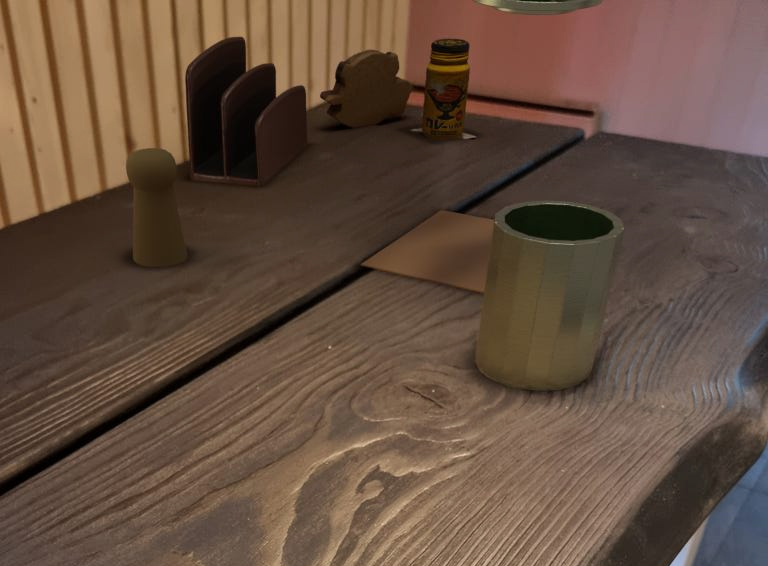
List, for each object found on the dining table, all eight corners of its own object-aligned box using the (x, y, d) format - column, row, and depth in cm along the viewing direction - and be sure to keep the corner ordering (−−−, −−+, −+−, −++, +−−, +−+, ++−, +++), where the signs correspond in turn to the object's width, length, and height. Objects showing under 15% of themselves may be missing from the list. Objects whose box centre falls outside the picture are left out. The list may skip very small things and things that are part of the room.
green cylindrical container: (605, 359, 83) (639, 213, 74) (566, 406, 77) (599, 253, 68) (500, 334, 87) (522, 193, 78) (456, 376, 81) (474, 228, 72)
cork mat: (603, 246, 103) (604, 240, 103) (538, 309, 91) (539, 303, 90) (440, 214, 111) (441, 209, 111) (360, 269, 99) (360, 264, 98)
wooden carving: (392, 113, 145) (396, 39, 139) (413, 119, 143) (418, 43, 136) (313, 133, 138) (314, 55, 131) (334, 139, 135) (336, 60, 128)
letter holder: (189, 183, 121) (180, 58, 111) (243, 142, 134) (238, 27, 125) (261, 190, 118) (257, 63, 109) (308, 147, 132) (309, 31, 122)
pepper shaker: (127, 254, 102) (113, 146, 95) (179, 247, 104) (170, 139, 96) (140, 274, 98) (127, 162, 91) (195, 266, 100) (186, 155, 92)
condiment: (437, 146, 132) (446, 48, 124) (401, 132, 137) (408, 38, 129) (476, 138, 135) (488, 42, 127) (440, 125, 140) (449, 32, 132)
